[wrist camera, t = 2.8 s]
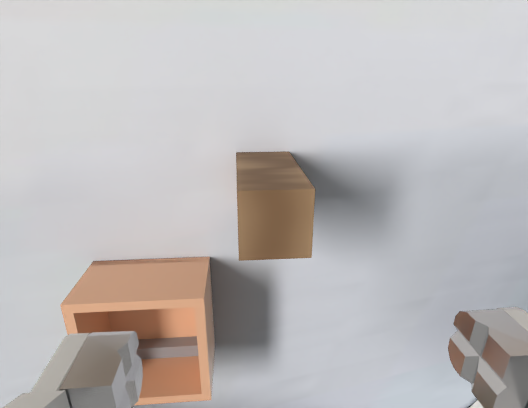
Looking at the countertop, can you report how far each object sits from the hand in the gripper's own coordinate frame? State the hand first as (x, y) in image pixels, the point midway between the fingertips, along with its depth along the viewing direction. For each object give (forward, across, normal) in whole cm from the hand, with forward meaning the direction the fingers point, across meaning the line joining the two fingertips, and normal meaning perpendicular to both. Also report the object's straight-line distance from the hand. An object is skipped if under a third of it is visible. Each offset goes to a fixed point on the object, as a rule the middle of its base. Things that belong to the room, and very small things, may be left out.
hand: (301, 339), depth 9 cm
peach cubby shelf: (+16, -8, -10) cm, 20 cm away
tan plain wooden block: (+16, 0, 0) cm, 16 cm away
